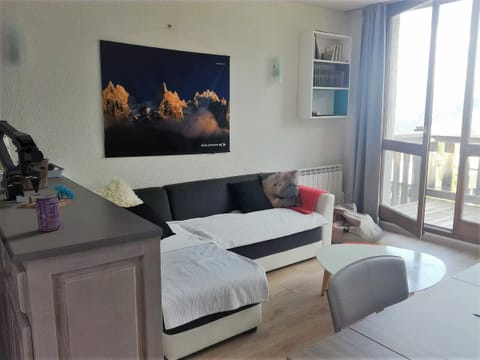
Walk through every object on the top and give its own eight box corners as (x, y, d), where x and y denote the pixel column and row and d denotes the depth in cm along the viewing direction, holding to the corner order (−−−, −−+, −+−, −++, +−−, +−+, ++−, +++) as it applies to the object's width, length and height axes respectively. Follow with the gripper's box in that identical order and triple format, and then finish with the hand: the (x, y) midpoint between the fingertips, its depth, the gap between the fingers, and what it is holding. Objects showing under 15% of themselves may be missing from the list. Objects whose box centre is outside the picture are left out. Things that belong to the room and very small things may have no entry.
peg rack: (18, 207, 176) (16, 197, 176) (33, 202, 186) (32, 193, 185) (58, 207, 173) (57, 197, 172) (72, 202, 182) (71, 192, 182)
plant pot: (58, 186, 227) (55, 158, 224) (30, 192, 214) (27, 162, 211) (41, 184, 236) (38, 157, 233) (14, 189, 222) (10, 161, 219)
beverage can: (43, 227, 143) (39, 194, 141) (64, 226, 143) (60, 193, 141) (35, 233, 136) (30, 198, 134) (56, 231, 136) (52, 197, 134)
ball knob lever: (16, 202, 187) (15, 196, 187) (22, 200, 192) (21, 194, 191) (46, 202, 185) (45, 196, 185) (52, 200, 189) (51, 194, 189)
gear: (79, 195, 190) (63, 183, 184) (73, 205, 187) (56, 193, 181) (67, 196, 197) (50, 184, 191) (61, 206, 194) (44, 195, 188)
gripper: (27, 164, 175) (31, 199, 178) (53, 159, 193) (57, 190, 196) (4, 164, 177) (9, 198, 180) (33, 159, 195) (37, 190, 198)
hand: (29, 194), depth 188 cm, fingers open, 9 cm apart
